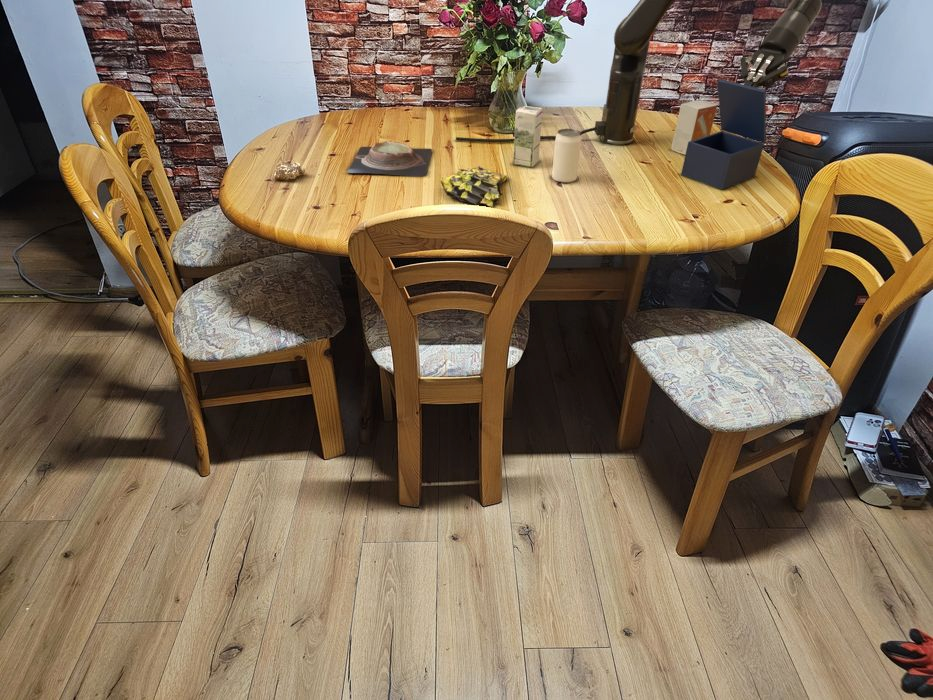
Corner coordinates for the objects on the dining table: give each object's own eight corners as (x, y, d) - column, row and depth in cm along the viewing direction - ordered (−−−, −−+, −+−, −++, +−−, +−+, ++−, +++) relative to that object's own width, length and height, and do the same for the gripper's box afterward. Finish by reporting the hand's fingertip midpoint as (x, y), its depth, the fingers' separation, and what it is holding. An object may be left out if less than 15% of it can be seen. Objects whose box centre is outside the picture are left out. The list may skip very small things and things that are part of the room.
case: (722, 190, 156) (731, 155, 151) (680, 174, 164) (688, 141, 159) (754, 176, 164) (764, 143, 158) (713, 162, 171) (721, 130, 166)
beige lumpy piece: (280, 185, 156) (277, 171, 154) (271, 177, 161) (268, 163, 159) (310, 179, 160) (308, 165, 158) (300, 171, 164) (298, 157, 162)
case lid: (763, 92, 146) (765, 89, 146) (717, 80, 154) (719, 78, 154) (764, 142, 158) (766, 140, 158) (721, 130, 166) (722, 128, 166)
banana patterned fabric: (468, 173, 166) (476, 150, 163) (519, 200, 163) (529, 178, 159) (430, 187, 151) (437, 162, 147) (486, 218, 147) (495, 193, 143)
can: (560, 185, 158) (565, 137, 151) (546, 176, 163) (551, 130, 155) (581, 180, 161) (587, 134, 153) (567, 172, 165) (572, 126, 158)
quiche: (346, 174, 163) (344, 159, 160) (360, 148, 179) (359, 134, 176) (425, 176, 162) (424, 161, 160) (432, 149, 178) (432, 135, 176)
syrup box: (539, 161, 171) (543, 107, 163) (531, 168, 167) (535, 113, 158) (519, 158, 173) (523, 104, 164) (512, 165, 169) (515, 110, 160)
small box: (687, 156, 175) (698, 109, 167) (670, 150, 179) (680, 103, 171) (706, 151, 179) (718, 104, 171) (689, 145, 183) (699, 99, 175)
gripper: (757, 21, 153) (715, 81, 154) (809, 30, 145) (764, 93, 146) (763, 42, 159) (722, 100, 160) (812, 51, 151) (770, 112, 152)
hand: (742, 97), depth 153 cm, fingers closed
